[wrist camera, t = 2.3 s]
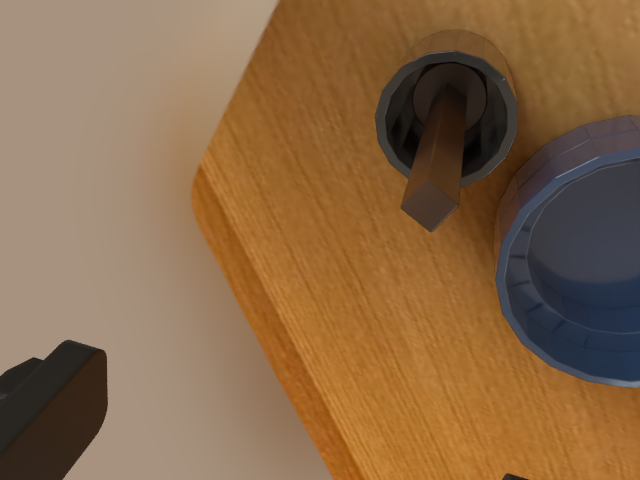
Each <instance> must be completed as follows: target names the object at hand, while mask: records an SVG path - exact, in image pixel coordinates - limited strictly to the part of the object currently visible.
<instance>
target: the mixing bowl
mask: <svg viewBox="0 0 640 480" xmlns="http://www.w3.org/2000/svg"><path fill="white" fill-rule="evenodd" d="M493 239H494V264H495V282H496V287H497V291H498V296H499V301H500V305H501V310H502V313H503V315H504V317H505V319H506V320H507V322H508V323H509V325H510V326H511V328H512V329H513V331H514V332H515V334H516V335H517V337H518V339H519V340H520V342H521V343H522V344H523V345H524V346H526V347H527V348H528V349H529V350H531V351H532V352H533V353H534V354H536V355H537V356H538V357H540V358H541V359H542V360H543V361H545V362H546V363H547V364H548V365H550V366H551V367H553V368H556V369H558V370H561V371H563V372H565V373H568V374H570V375H573V376H575V377H577V378H580V379H582V380H585V381H588V382H593V383H599V384H606V385H613V386H619V387H626V388H636V387H640V116H631V115H628V116H622V117H617V118H613V119H608V120H604V121H599V122H594V123H590V124H585V125H582V126H580V127H578V128H576V129H574V130H572V131H570V132H568V133H566V134H564V135H562V136H561V137H559V138H557V139H555V140H553V141H551V142H549V143H547V144H546V145H545V146H543V147H542V148H541V149H540V150H539V151H538V152H537V153H536V154H535V155H534V156H533V157H532V158H530V159H529V160H528V161H527V162H526V163H525V164H524V165H523V166H522V167H521V168H520V169H519V170H518V171H517V172H516V173H515V175H514V177H513V178H512V180H511V182H510V184H509V186H508V188H507V190H506V191H505V193H504V195H503V197H502V199H501V201H500V202H499V205H498V210H497V216H496V223H495V229H494V235H493Z"/></svg>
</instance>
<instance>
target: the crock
mask: <svg viewBox="0 0 640 480" xmlns="http://www.w3.org/2000/svg"><path fill="white" fill-rule="evenodd" d="M446 62H457V63H460V64H463V65H467V66H470V67H473V68H477V69H479V70H480V71H481V72H482V73H483V74H484V76H485V79H486V82H487V93H488V101H487V107H486V110H485V112H484V114H483V116H482V118H481V119H480V121H479V122H478V123H477V124H476V125H475V126H474V127H473V128H471V129H470V130H468V131H466V132H465V135H464V147H463V160H462V172H461V185H460V187H464V186H466V185H468V184H471V183H473V182H475V181H477V180H480V179H482V178H484V177H486V176H488V175H489V174H490V173H491V172H492V171H493V170H494V169H495V168H496V167H497V166H498V165H499V164H500V163H501V162H502V161H503V160H504V159H505V158H506V157H507V156H508V153H509V151H510V149H511V146H512V144H513V142H514V139H515V137H516V135H517V132H518V103H517V98H516V93H515V89H514V84H513V79H512V75H511V72H510V70H509V68H508V65H507V62H506V60H505V58H504V57H503V54H502V53H501V52H500V51H499V50H498V48H497V47H496V46H495V45H494V44H493V43H491V42H490V41H489V40H487V39H486V38H484V37H482V36H480V35H478V34H475V33H473V32H469V31H464V30H446V31H441V32H438V33H435V34H432V35H430V36H428V37H426V38H424V39H422V40H421V41H419V42H418V43H416V44H415V45H414V46H413V47H412V48H411V49H410V50H409V51H408V52H407V54H406V55H405V57H404V58H403V59H402V60H401V62H400V63H399V64H398V66H397V67H396V69H395V71H394V72H393V74H392V75H391V77H390V79H389V80H388V82H387V83H386V85H385V87H384V88H383V90H382V93H381V97H380V100H379V103H378V107H377V110H376V114H375V121H376V130H377V139H378V143H379V145H380V146H381V148H382V150H383V152H384V154H385V155H386V157H387V159H388V161H389V163H390V164H391V165H392V166H393V167H394V168H396V169H397V170H398V171H399V172H401V173H402V174H403V175H404V176H406V177H407V178H408V179H409V177H410V173H411V170H412V166H413V163H414V159H415V156H416V153H417V149H418V146H419V142H420V139H421V135H422V132H423V129H424V126H423V125H421V123H420V122H419V121H418V119H417V118H416V116H415V113H414V110H413V106H412V95H413V90H414V87H415V85H416V83H417V80H418V78H419V76H420V74H421V73H422V71H423V70H424V69H425V68H426V67H427V66H428V65H429V64H436V63H446Z"/></svg>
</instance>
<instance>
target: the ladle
mask: <svg viewBox="0 0 640 480" xmlns="http://www.w3.org/2000/svg"><path fill="white" fill-rule="evenodd" d="M487 101H488V93H487V82H486V79H485V76H484V74H483V73H482V72H481V71H480V70H479V69H477V68H473V67H470V66H467V65H463V64H460V63H457V62H446V63H436V64H429V65H428V66H427V67H426V68H425V69H424V70H423V71H422V73H421V74H420V76H419V78H418V80H417V83H416V85H415V87H414V90H413V95H412V106H413V110H414V113H415V116H416V118H417V119H418V121H419V122H420V123H421V125H423V126H424V129H423V132H422V135H421V139H420V142H419V146H418V149H417V153H416V156H415V159H414V163H413V166H412V170H411V173H410V177H409V180H408V183H407V187H406V190H405V194H404V197H403V201H402V204H401V209H402V210H403V211H404V212H406V213H407V214H408V215H409V216H411V217H412V218H413V219H414V220H416V221H417V222H418V223H419V224H421V225H422V226H423V227H424V228H426V229H427V230H428V231H429V232H433V231H434V230H435V229H436V228H437V227H438V226H439V225H440V224H441V223H442V222H443V221H444V220H445V219H446V218H447V217H448V216H449V215H450V214H451V213H452V212H453V211H454V210H455V209H456V208H457V207H458V206H459V197H460V185H461V172H462V160H463V147H464V135H465V132H466V131H468V130H470V129H471V128H473V127H474V126H475V125H476V124H477V123H478V122H479V121H480V119H481V118H482V116H483V114H484V112H485V110H486V107H487Z"/></svg>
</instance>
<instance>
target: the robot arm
mask: <svg viewBox="0 0 640 480" xmlns="http://www.w3.org/2000/svg"><path fill="white" fill-rule="evenodd" d="M107 405H108V397H107V356H106V353H105V351H104V350H101V349H98V348H95V347H91V346H88V345H85V344H81V343H78V342H75V341H72V340H66V341H64V342H62V343H61V344H60V345H59V346H58V347H57V348H56V349H55V350H54V351H53V352H52V353H51V354H50V355H49V356H48V357H47V358H45V360H41V359H37V358H34V357H33V358H31V359H29V360H27V361H25V362H23V363H21V364H19V365H17V366H15V367H13V368H11V369H9V370H7V371H6V372H5V373H4V374H2V375H1V376H0V480H62V479H63V478H64V477H65V475H66V474H67V473H68V471H69V470H70V469H71V468H72V466H73V465H74V464H75V462H76V461H77V460H78V458H79V457H80V456H81V455H82V453H83V452H84V451H85V449H86V448H87V447H88V445H89V444H90V443H91V442H92V440H93V439H94V438H95V436H96V435H97V433H98V432H99V430H100V428H101V426H102V424H103V421H104V419H105V416H106V412H107ZM502 480H528V479H525V478H522V477H519V476H515V475H512V474H509V473H507V474H506V475H505V476H504V477H503V479H502Z"/></svg>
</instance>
